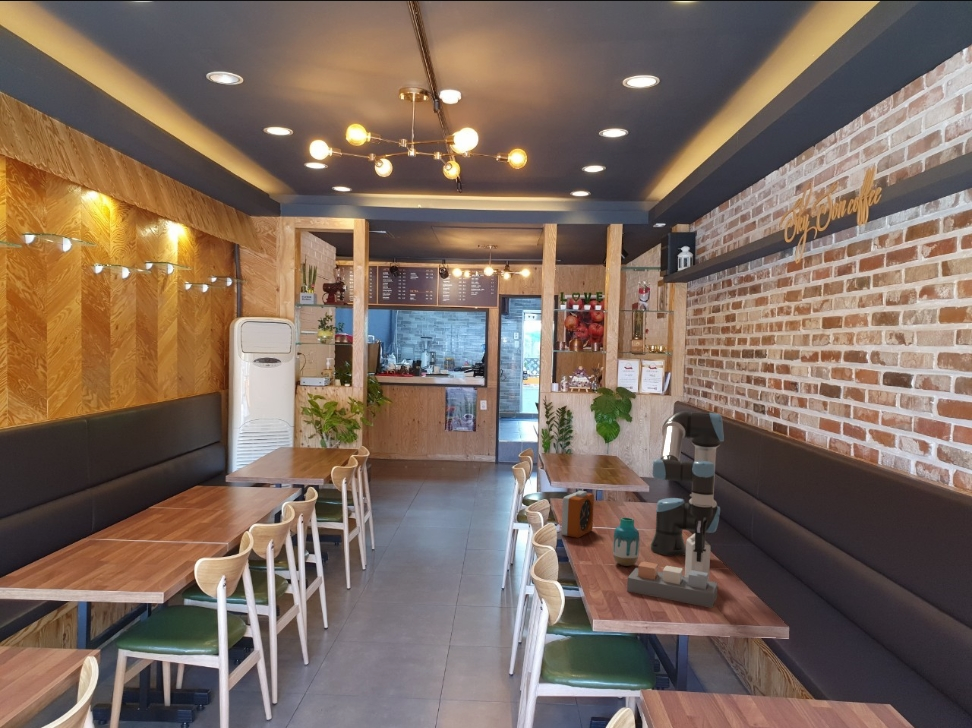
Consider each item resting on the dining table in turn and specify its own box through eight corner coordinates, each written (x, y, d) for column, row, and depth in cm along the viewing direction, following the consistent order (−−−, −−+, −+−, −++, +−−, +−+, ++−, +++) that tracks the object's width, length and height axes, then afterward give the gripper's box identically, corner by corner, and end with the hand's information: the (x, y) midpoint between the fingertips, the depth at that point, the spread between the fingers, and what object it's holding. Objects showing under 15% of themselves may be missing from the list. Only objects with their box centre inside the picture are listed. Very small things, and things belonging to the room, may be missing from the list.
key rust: (641, 576, 249) (642, 561, 249) (657, 579, 246) (658, 564, 246) (637, 581, 243) (638, 565, 243) (654, 584, 241) (654, 568, 241)
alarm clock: (577, 539, 307) (579, 495, 307) (560, 535, 312) (562, 492, 311) (593, 530, 323) (594, 489, 322) (576, 527, 328) (578, 486, 327)
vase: (610, 566, 269) (612, 520, 268) (614, 559, 279) (616, 514, 278) (636, 570, 265) (638, 523, 265) (639, 562, 275) (641, 517, 275)
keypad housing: (635, 580, 253) (635, 567, 253) (716, 596, 240) (717, 582, 240) (627, 591, 241) (627, 577, 241) (712, 608, 228) (713, 593, 228)
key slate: (690, 585, 241) (691, 569, 241) (707, 588, 238) (708, 572, 238) (687, 590, 235) (688, 574, 235) (705, 594, 233) (706, 577, 233)
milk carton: (702, 578, 259) (704, 530, 259) (708, 584, 252) (711, 535, 252) (684, 577, 259) (686, 529, 259) (690, 583, 252) (693, 534, 252)
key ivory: (665, 581, 245) (666, 565, 245) (682, 584, 242) (682, 568, 242) (662, 585, 239) (663, 570, 239) (679, 589, 237) (680, 573, 237)
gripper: (693, 499, 244) (690, 562, 244) (688, 506, 232) (685, 572, 232) (714, 502, 240) (711, 566, 241) (710, 509, 229) (707, 576, 229)
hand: (698, 569), depth 237 cm, fingers closed
